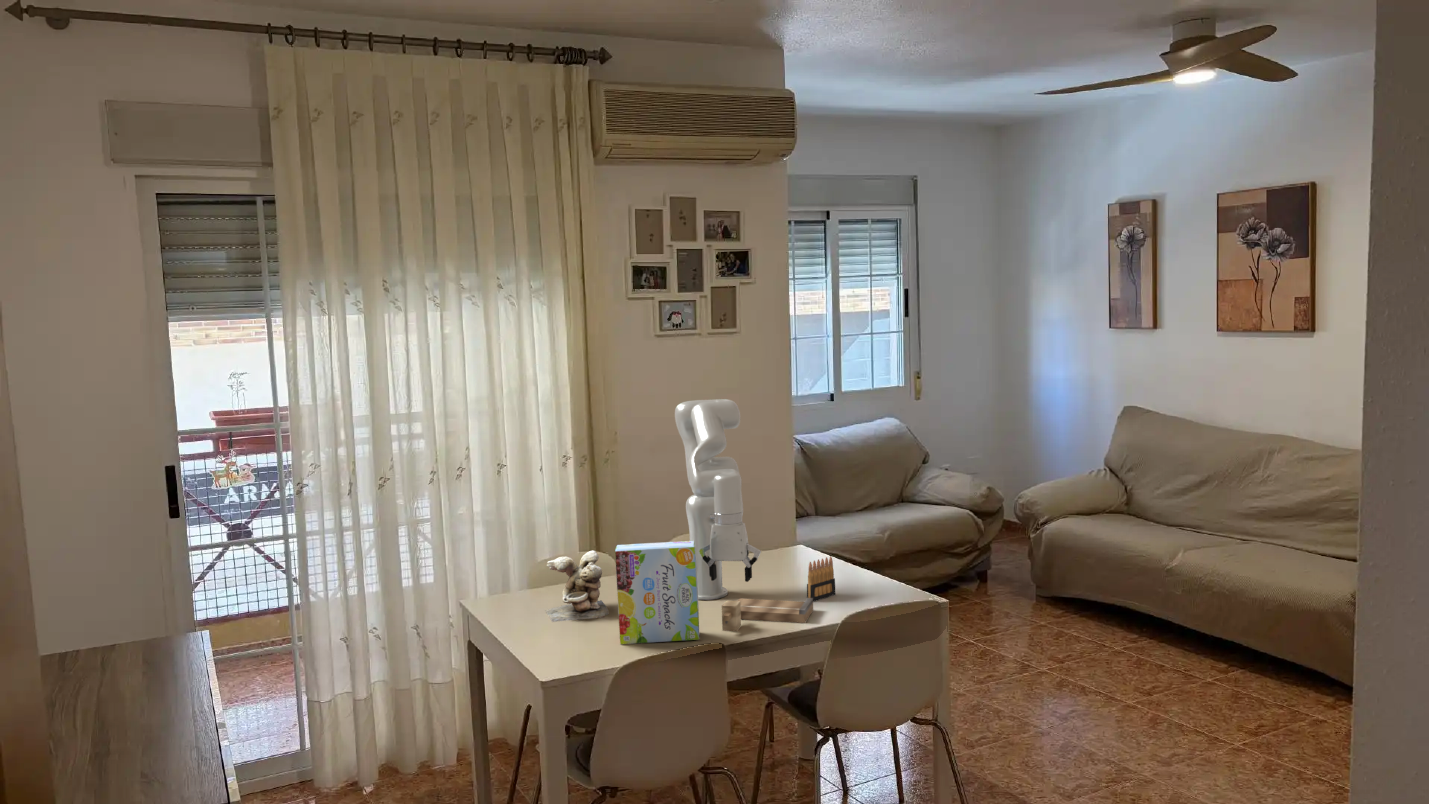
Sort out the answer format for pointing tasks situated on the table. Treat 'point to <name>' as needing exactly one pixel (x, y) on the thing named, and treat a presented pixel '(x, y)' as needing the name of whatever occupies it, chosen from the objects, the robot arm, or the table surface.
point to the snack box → (657, 592)
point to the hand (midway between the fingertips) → (730, 580)
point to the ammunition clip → (821, 580)
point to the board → (776, 610)
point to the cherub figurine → (579, 589)
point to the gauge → (731, 616)
